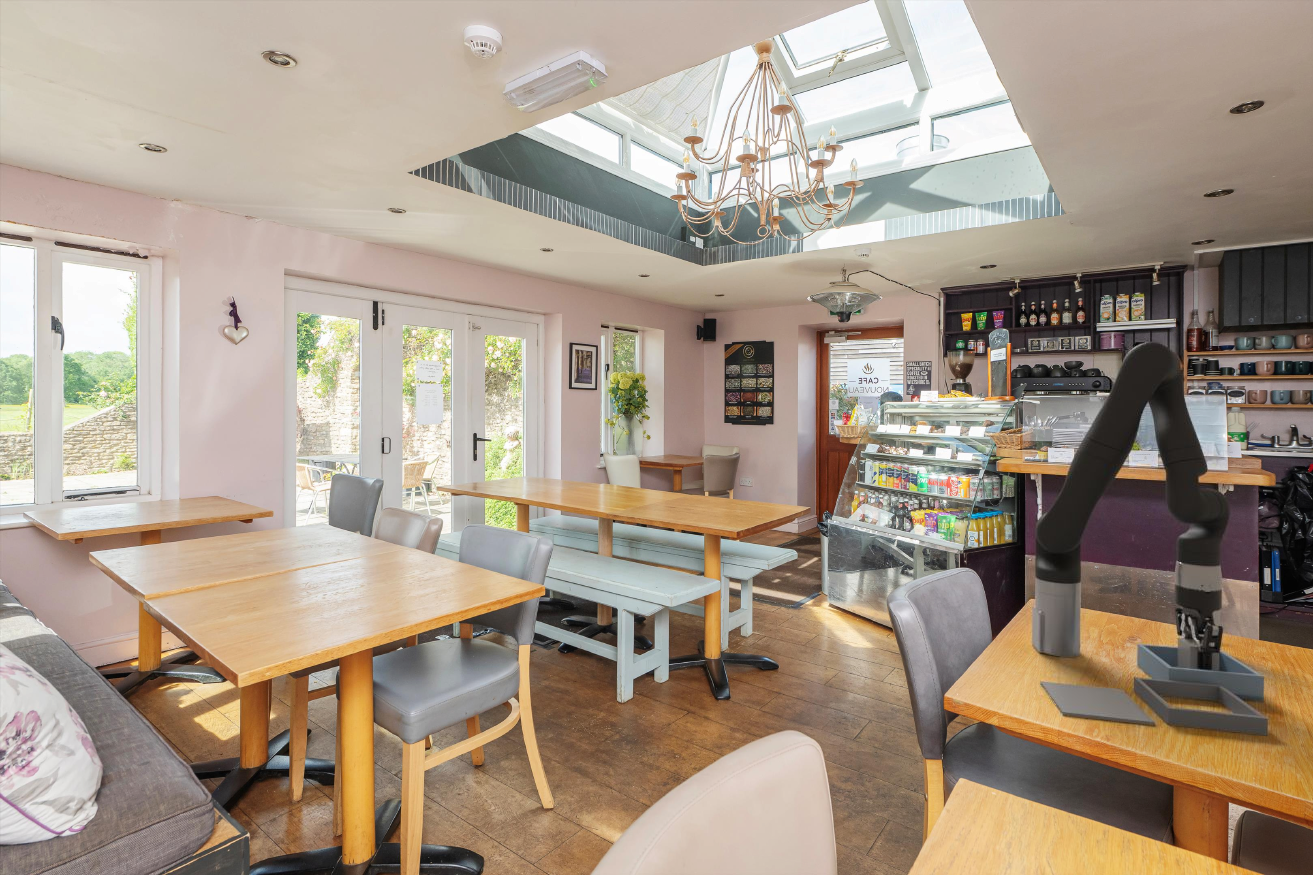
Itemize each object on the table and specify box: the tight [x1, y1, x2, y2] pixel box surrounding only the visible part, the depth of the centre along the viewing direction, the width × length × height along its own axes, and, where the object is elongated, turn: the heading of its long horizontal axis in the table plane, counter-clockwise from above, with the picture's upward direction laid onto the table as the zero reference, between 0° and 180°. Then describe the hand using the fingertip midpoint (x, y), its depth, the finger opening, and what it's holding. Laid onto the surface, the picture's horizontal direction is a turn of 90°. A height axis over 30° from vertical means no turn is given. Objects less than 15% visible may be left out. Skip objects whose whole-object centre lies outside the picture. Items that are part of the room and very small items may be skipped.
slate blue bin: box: [1136, 643, 1265, 703], centre depth 133 cm, size 16×15×5 cm
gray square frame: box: [1133, 676, 1269, 737], centre depth 120 cm, size 15×15×3 cm
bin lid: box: [1039, 681, 1156, 726], centre depth 124 cm, size 15×15×1 cm
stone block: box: [1177, 637, 1219, 671], centre depth 133 cm, size 5×5×6 cm
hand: (1197, 664), depth 133 cm, fingers closed on stone block, 5 cm apart
